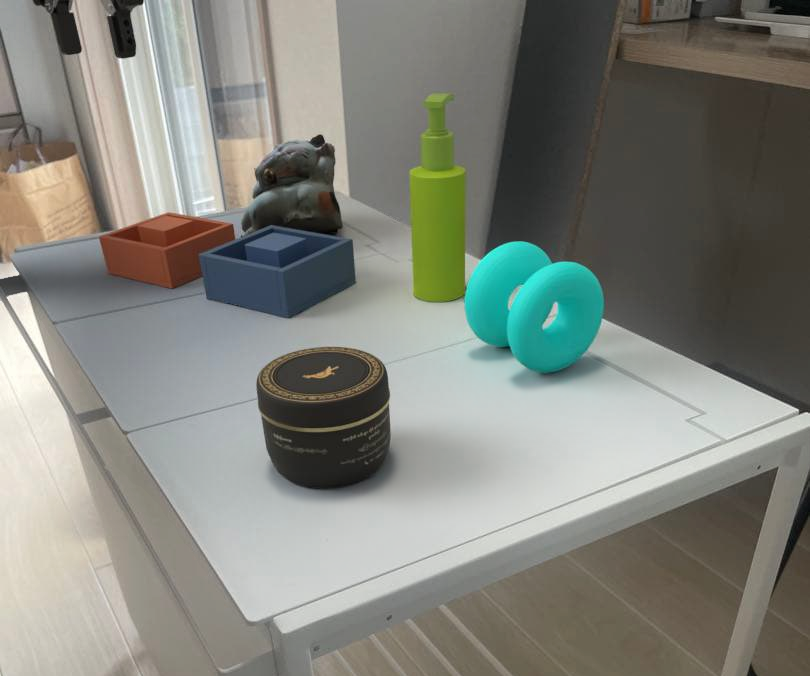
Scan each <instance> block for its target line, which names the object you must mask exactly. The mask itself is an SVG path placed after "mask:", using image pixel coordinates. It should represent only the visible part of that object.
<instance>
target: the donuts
mask: <svg viewBox="0 0 810 676" xmlns="http://www.w3.org/2000/svg"><path fill="white" fill-rule="evenodd" d="M520 286H521V287H520ZM519 287H520V288H519ZM517 288H519V289H518V291H517V293H516V294H515V296H514V298H513V301H512V303H511V305H510V309H509V301H510V298H511V296H512V294H513V292H515V290H516V289H517ZM555 303H557V312H556V316H555V317H554V319H553V320H552V322H551V323H550V324H549V325H547V327H544V328H543V325H544V324H545V322H546V321H547V319H548V318H549V316H550V313H551V312H552V309H553V307H554V304H555ZM604 308H605V299H604V293H603V289H602V286H601V284H600V281H599V279H598V278H597V277H596V275H595V274H594V273H593V272H592V271H591V270H590V268H588V267H586V266H584V265H582V264H580V263H578V262H572V261H557V262H554V263H553V262H552V260H551V259H550V257H549V256H548V254H547V253H546V252H545V251H544V250H543V249H541V248H540V247H539V246H537V245H535V244H533V243H532V242H527V241H521V240H520V241H519V240H518V241H509V242H505V243H503V244H501V245H499V246H497V247H495V248H493V249H492V250H490V251H489V252H488V253H487V254H486V255H485V256H484V257H482V259H481V260H480V261H479V262H478V263H477V265H476V267H475V268H474V270H473V271H472V273H471V275H470V277H469V280H468V282H467V284H466V288H465V293H464V312H465V317H466V321H467V324H468V326H469V328H470V330H471V331H472V332H473V334H474V335H475V336H476V337H477V338H478V339H479V340H480V341H482V342H484V343H485V344H487V345H490V346H492V347H498V348H499V347H500V348H505V347H509V348H510V350H511V353H512V354H513V356H514V358H515V359H516V360H517V361H518V362H519V363H520V365H522V366H523V367H525V369H528V370H530V371H533V372H537V373H541V374H542V373H544V374H547V373H554V372H558V371H562V370H564V369H566V368H568V367H570V366H571V365H573V364H574V363H575V362H577V361H578V360H579V359H580V358H582V356H583V355H584V354H585V353H586V352H587V351H588V350H589V348H590V347H591V345H592V344H593V342H594V341H595V339H596V337H597V335H598V333H599V331H600V327H601V325H602V321H603V317H604Z"/></svg>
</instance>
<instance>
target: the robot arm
mask: <svg viewBox="0 0 810 676" xmlns="http://www.w3.org/2000/svg"><path fill="white" fill-rule="evenodd" d="M99 1H100V3H101V5H102V6H103V8H104V9H105V10H106V13H108V14H109V15H107V16H106V19H107V24H108V28H109V33H110V38H111V42H112V43H111V44H112V47H113V52H114V55H115V57H116V58H117V59H123V60H124V59H130V58H134V57H136V54H137V41H136V38H135V37H136V36H135V32H134V26H133V22H132V15H131V13H132V12H133V10H134V9H136V8H137V7H139V6H143V5H144V2H145V0H99ZM32 2H33V4H34V5H35V6H37V7H43V9H44V8H45V10H46V12H47V13H48V14H50V16H51V17H50V18H51V20H52V24H53V25H52V26H53V28H54V32H55V36H56V40H57V44H58V46H59V48H60V52H61V54H63V55H64V56H72V55H78V54H79V55H80V54H81V53H82V52H83V48H82V42H81V40H80V35H79V31H78V27H77V22H76V18H75V13H74V12H71V11H72V8H73V2H74V0H32Z"/></svg>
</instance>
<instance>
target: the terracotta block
mask: <svg viewBox="0 0 810 676" xmlns="http://www.w3.org/2000/svg"><path fill="white" fill-rule="evenodd" d="M138 230H139V235H140V239H141V243H146V244H151V245H156V246H161V247H167V246H170V245H173V244H175V243H178V242H180V241H183V240H186V239H188V238H191V237H193V236H196V233H195V228H194V222H193V220H187V219H181V218H176V217H170V216H164V217H161V218H158V219H156V220H153V221H150V222H147V223H144V224H141V225H138Z"/></svg>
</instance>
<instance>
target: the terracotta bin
mask: <svg viewBox="0 0 810 676" xmlns="http://www.w3.org/2000/svg"><path fill="white" fill-rule="evenodd" d="M164 216H170V217H176V218H181V219H187V220H193V222H194V228H195V233H196V236H193V237H191V238H188V239H186V240H183V241H180V242H178V243H175V244H173V245H170V246H167V247H161V246H156V245H151V244H146V243H141V239H140V235H139V230H138V225H141V224H144V223H147V222H150V221H153V220H156V219H158V218H161V217H164ZM236 239H237V238H236V234H235V227H234V223H232V222H226V221H221V220H215V219H209V218H203V217H197V216H191V215H186V214H180V213H174V212H170V211H168V212H165V213H162V214H159V215H156V216H153V217H150V218H148V219H145V220H142V221H139V222H135V223H133V224H130V225H128V226H125V227H122V228H119V229H115V230H113V231H111V232H107V233H105V234H102V235H98V240H99V244H100V247H101V251H102V255H103V260H104V263H105V267H106V271H107V274H109V275H113V276H117V277H121V278H126V279H130V280H134V281H138V282H142V283H148V284H151V285H155V286H159V287H163V288H168V289H175V288H177V287H180V286H182V285H184V284H187V283H189V282H191V281H194V280H196V279H199V278H201V277H203V276H202V270H201V265H200V259H199V254H201V253H204V252H206V251H209V250H211V249H213V248H216V247H218V246H221V245H223V244H226V243H228V242H231V241H233V240H236Z"/></svg>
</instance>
